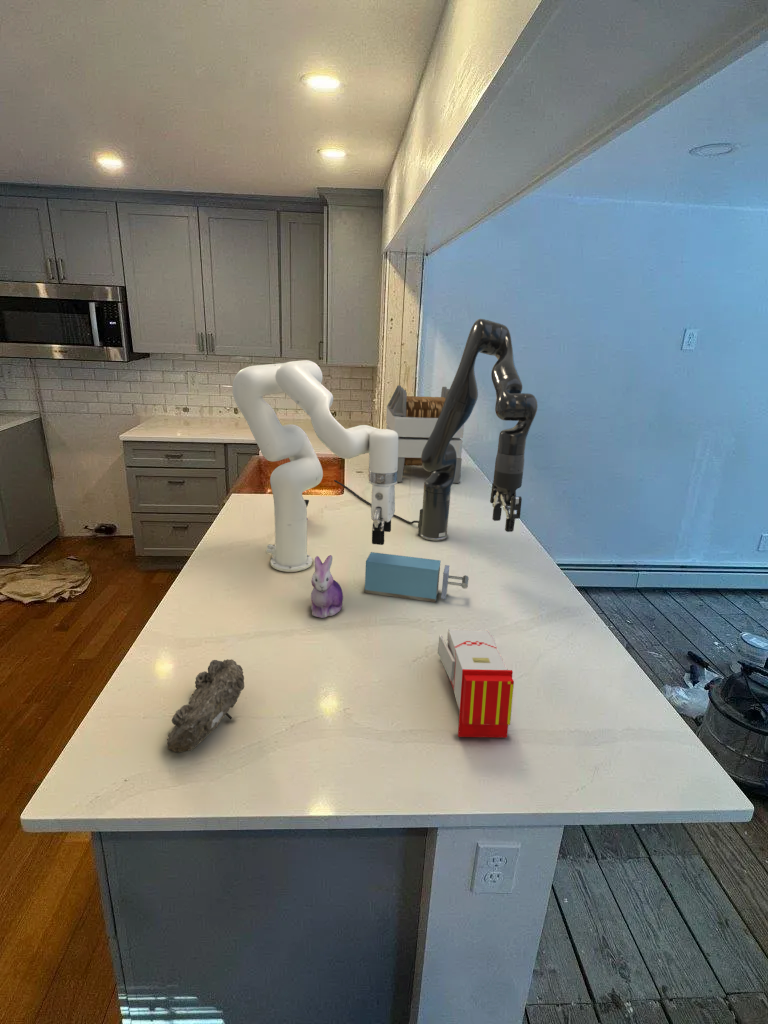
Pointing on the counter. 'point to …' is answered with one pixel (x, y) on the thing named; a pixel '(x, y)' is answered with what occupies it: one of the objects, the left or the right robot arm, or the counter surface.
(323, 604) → the figurine
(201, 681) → the fossil
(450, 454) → the right robot arm
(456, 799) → the counter surface
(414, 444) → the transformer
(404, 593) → the cabinet
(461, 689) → the toy
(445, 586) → the drawer
